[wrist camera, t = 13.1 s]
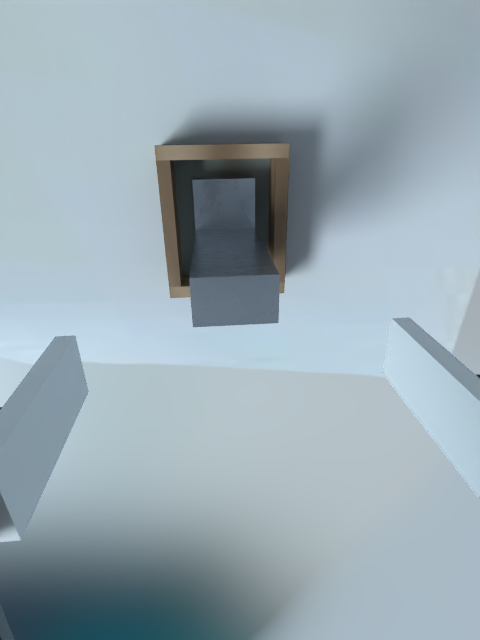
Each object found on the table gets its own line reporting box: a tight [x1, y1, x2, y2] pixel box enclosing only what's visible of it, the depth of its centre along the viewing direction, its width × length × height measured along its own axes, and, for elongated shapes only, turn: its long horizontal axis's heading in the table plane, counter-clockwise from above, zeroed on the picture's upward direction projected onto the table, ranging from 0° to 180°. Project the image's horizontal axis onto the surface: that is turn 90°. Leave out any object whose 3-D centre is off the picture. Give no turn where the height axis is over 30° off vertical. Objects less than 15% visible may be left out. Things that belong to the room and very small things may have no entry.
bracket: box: [189, 176, 280, 327], centre depth 26 cm, size 7×5×14 cm
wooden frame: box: [155, 143, 290, 298], centre depth 32 cm, size 10×12×4 cm
